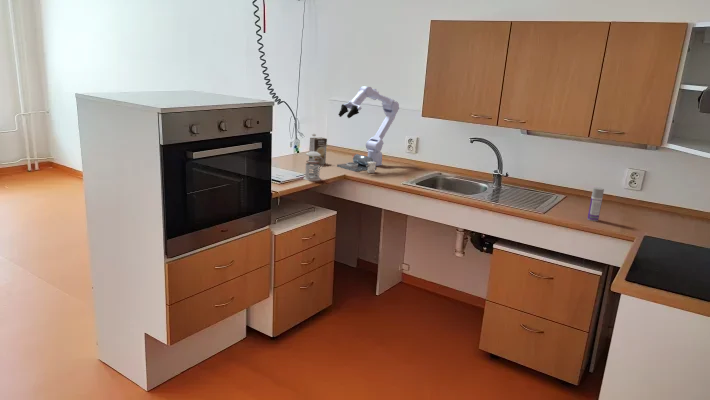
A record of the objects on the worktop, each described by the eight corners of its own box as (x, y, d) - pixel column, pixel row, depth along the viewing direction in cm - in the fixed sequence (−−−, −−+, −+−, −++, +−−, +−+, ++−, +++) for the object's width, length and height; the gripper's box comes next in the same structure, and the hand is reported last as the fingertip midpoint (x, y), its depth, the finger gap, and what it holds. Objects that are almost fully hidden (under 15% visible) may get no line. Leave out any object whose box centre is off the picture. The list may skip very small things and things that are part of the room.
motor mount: (357, 164, 339) (358, 153, 337) (376, 168, 327) (377, 157, 325) (336, 166, 327) (337, 155, 325) (355, 171, 315) (356, 159, 313)
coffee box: (314, 164, 328) (315, 139, 324) (308, 162, 332) (309, 137, 328) (325, 163, 333) (327, 138, 329) (320, 161, 338) (321, 137, 334)
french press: (299, 177, 290) (301, 132, 283) (317, 175, 297) (319, 132, 290) (309, 181, 282) (311, 135, 276) (327, 179, 289) (329, 134, 283)
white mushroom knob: (371, 170, 320) (371, 161, 319) (377, 172, 316) (378, 162, 315) (362, 171, 315) (363, 162, 314) (369, 173, 311) (369, 163, 310)
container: (589, 217, 246) (594, 186, 242) (599, 219, 243) (605, 188, 239) (586, 219, 242) (591, 188, 238) (596, 221, 239) (602, 190, 235)
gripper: (346, 95, 319) (332, 110, 315) (362, 97, 309) (348, 112, 305) (351, 103, 324) (338, 118, 319) (367, 106, 314) (354, 121, 309)
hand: (343, 116), depth 312 cm, fingers open, 7 cm apart
